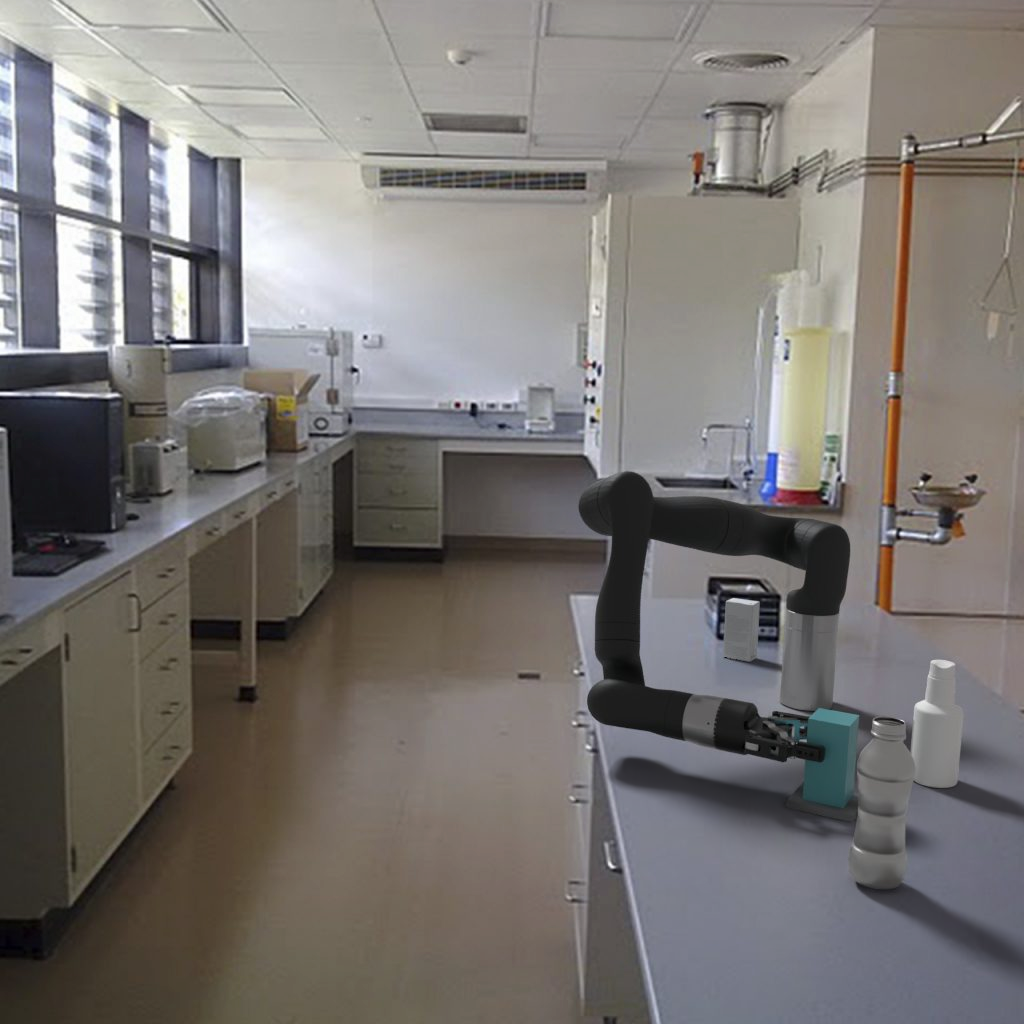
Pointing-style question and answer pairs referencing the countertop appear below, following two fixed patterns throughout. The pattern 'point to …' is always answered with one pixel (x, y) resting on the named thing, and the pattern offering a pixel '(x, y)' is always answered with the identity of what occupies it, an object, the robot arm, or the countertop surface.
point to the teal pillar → (831, 757)
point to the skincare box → (741, 629)
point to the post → (824, 806)
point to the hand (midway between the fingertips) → (832, 745)
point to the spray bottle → (937, 729)
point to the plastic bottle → (882, 806)
